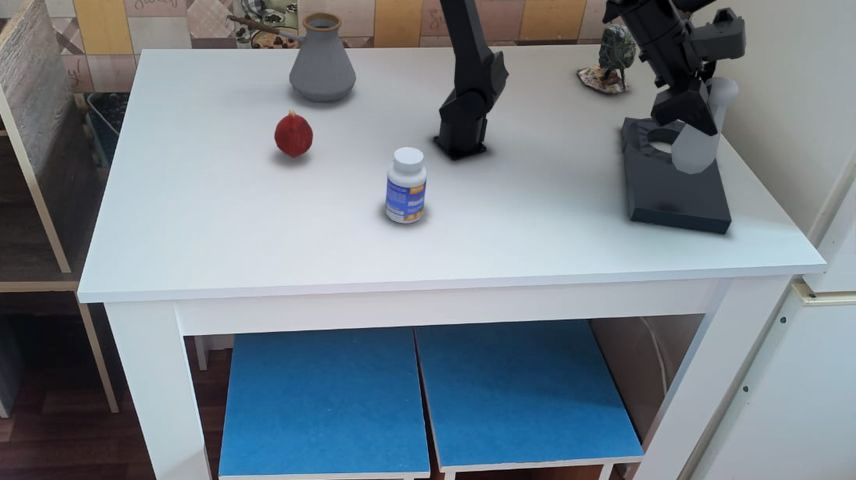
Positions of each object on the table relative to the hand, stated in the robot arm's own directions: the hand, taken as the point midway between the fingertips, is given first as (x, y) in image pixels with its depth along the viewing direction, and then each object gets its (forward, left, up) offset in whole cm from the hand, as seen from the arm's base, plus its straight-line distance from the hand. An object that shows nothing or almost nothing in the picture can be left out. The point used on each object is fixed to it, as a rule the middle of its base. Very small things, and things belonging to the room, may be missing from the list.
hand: (715, 127), depth 97 cm
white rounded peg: (-1, +1, -7) cm, 7 cm away
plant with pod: (+12, +32, -13) cm, 37 cm away
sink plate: (+3, +6, -13) cm, 15 cm away
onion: (-47, +34, -13) cm, 60 cm away
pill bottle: (-38, +15, -13) cm, 43 cm away
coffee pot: (-40, +51, -13) cm, 66 cm away
